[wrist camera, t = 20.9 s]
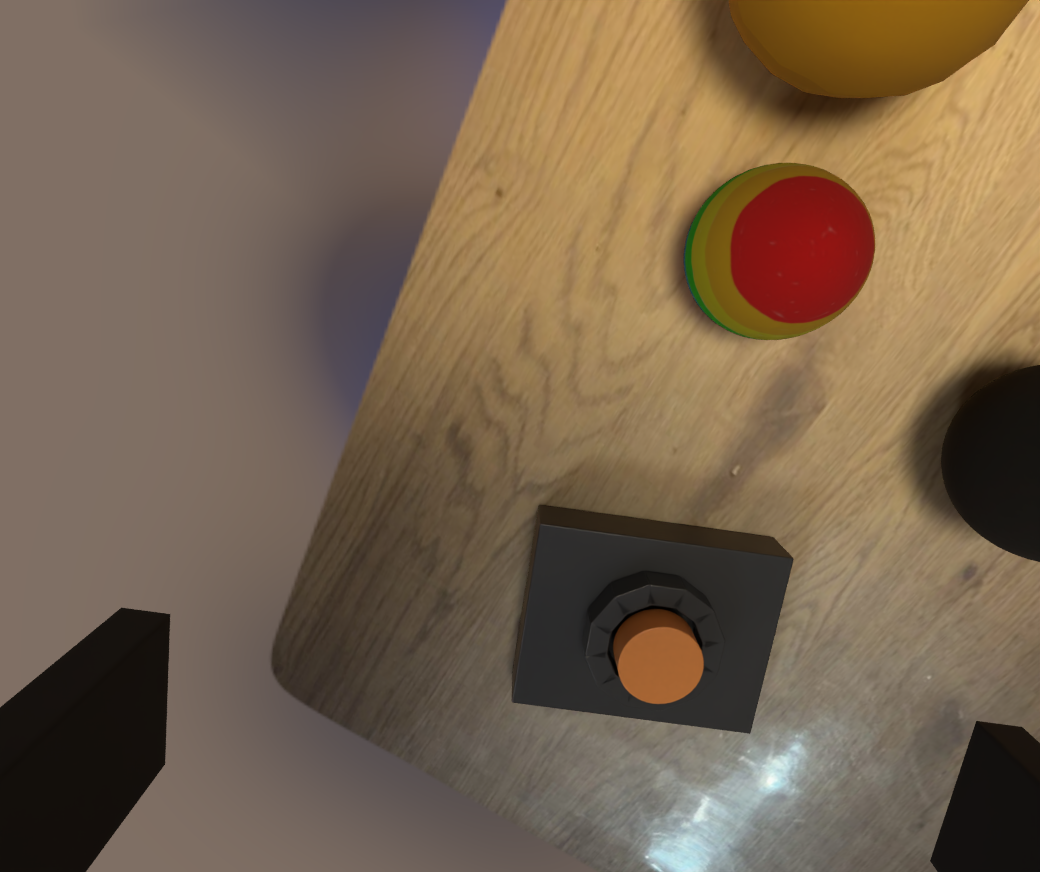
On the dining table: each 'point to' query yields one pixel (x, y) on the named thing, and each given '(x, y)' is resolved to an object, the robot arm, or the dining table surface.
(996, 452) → the decorative ball
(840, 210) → the decorative egg
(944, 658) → the dining table surface
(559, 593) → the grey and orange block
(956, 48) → the apple
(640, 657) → the orange button
